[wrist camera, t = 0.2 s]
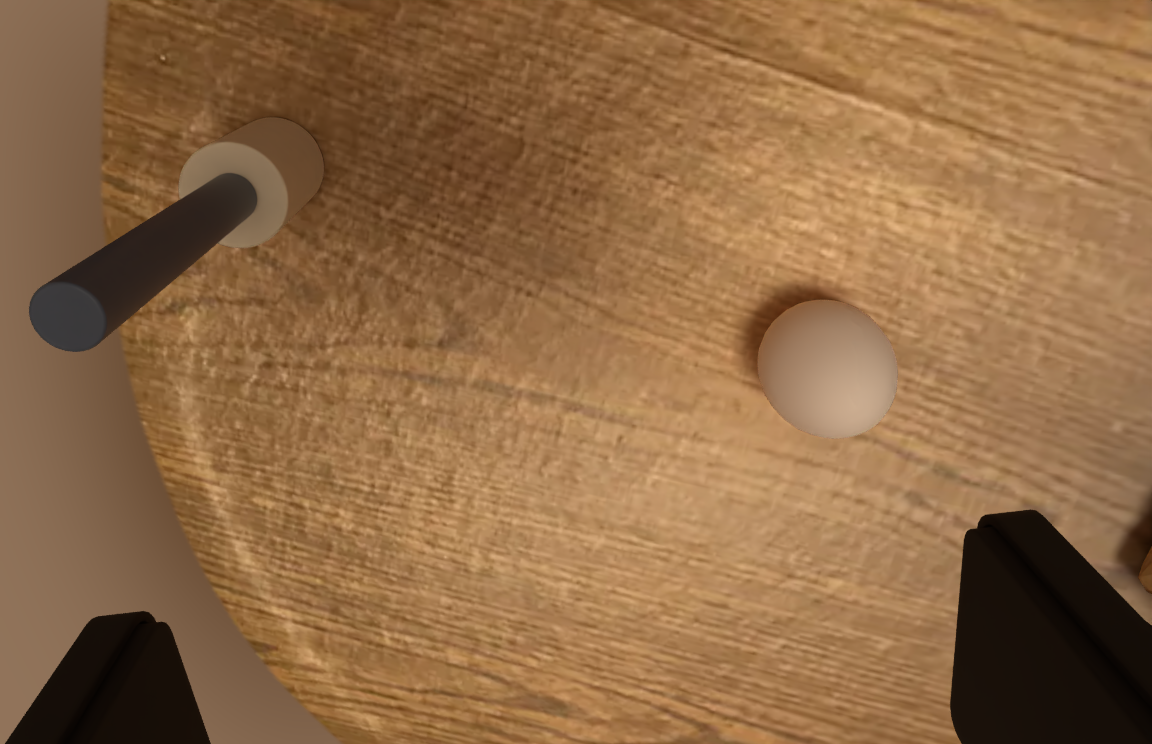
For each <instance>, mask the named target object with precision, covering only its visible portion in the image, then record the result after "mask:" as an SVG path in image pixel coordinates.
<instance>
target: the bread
mask: <svg viewBox="0 0 1152 744" xmlns="http://www.w3.org/2000/svg"><path fill="white" fill-rule="evenodd" d="M1138 578H1139V580H1140V581H1141V583H1142V584H1143V586H1144V588H1145V589H1146V591H1147V592H1149V593H1150V594H1152V547H1151V549H1150V551H1149V553H1148V555H1147V556H1146V558H1145V560H1144V562H1143V564H1142V567H1141V570H1140V573H1139V576H1138Z"/></svg>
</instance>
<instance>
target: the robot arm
mask: <svg viewBox="0 0 1152 744" xmlns="http://www.w3.org/2000/svg"><path fill="white" fill-rule="evenodd" d="M950 710H951V717H952V721H953V725H954V728H955V731H956V734H957V736H958V738H959V740H960V741H961V743H962V744H1152V626H1151V625H1150V624H1149V623H1148V622H1146V621H1145V620H1144V619H1143V618H1142V617H1141V616H1140V615H1139V614H1138V613H1137V612H1136V611H1135V610H1134V609H1133V608H1132V607H1131V606H1130V605H1129V604H1128V603H1127V602H1126V601H1125V600H1124V599H1123V597H1122V596H1121V595H1120V594H1119V593H1118V592H1117V591H1116V590H1115V589H1114V588H1113V587H1112V586H1111V585H1110V584H1109V583H1108V582H1107V581H1106V580H1105V579H1104V578H1103V577H1102V576H1101V575H1100V574H1099V573H1098V572H1097V571H1096V570H1095V569H1094V568H1093V567H1092V566H1091V565H1090V564H1089V563H1088V561H1087V560H1086V559H1085V558H1084V557H1083V556H1082V555H1081V554H1080V553H1079V552H1078V551H1077V550H1076V549H1075V548H1074V547H1073V546H1072V545H1071V544H1070V543H1069V542H1068V541H1067V540H1066V539H1065V538H1064V537H1063V536H1062V535H1061V534H1060V533H1059V532H1058V531H1057V530H1056V529H1055V528H1054V527H1053V526H1052V524H1051V523H1050V522H1049V521H1048V520H1047V519H1046V518H1045V517H1044V516H1043V515H1041V514H1040V513H1039V512H1037V511H1035V510H1023V511H1015V512H1006V513H997V514H988V515H984V516H983V517H981V519H980V521H979V522H978V527H977V529H970V530H968V531H967V532H966V534H965V538H964V546H963V558H962V570H961V581H960V593H959V605H958V617H957V629H956V641H955V653H954V665H953V677H952V689H951V701H950ZM5 744H211V743H210V740H209V737H208V735H207V732H206V729H205V726H204V723H203V720H202V717H201V714H200V712H199V709H198V706H197V703H196V700H195V697H194V694H193V691H192V689H191V685H190V682H189V680H188V677H187V674H186V671H185V668H184V665H183V662H182V659H181V656H180V654H179V651H178V648H177V645H176V642H175V639H174V636H173V633H172V631H171V629H170V627H169V626H168V625H167V624H166V623H165V622H156V621H155V619H154V617H153V616H152V615H151V614H150V613H149V612H145V611H141V612H132V613H123V614H115V615H106V616H98V617H95V618H93V619H91V620H90V621H89V622H88V624H86V626H85V627H84V629H83V630H82V632H81V633H80V635H79V636H78V638H77V639H76V641H75V642H74V644H73V645H72V646H71V648H70V649H69V651H68V652H67V654H66V655H65V657H64V658H63V660H62V661H61V662H60V664H59V666H58V667H57V668H56V670H55V671H54V673H53V674H52V676H51V677H50V679H49V680H48V682H47V683H46V684H45V686H44V687H43V689H42V690H41V692H40V693H39V695H38V696H37V698H36V699H35V701H34V702H33V703H32V705H31V707H30V708H29V709H28V711H27V712H26V714H25V716H24V717H23V718H22V720H21V721H20V723H19V724H18V725H17V727H16V728H15V730H14V731H13V733H12V734H11V736H10V737H9V739H8V740H7V742H6V743H5Z"/></svg>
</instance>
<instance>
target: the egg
mask: <svg viewBox="0 0 1152 744" xmlns="http://www.w3.org/2000/svg"><path fill="white" fill-rule="evenodd" d="M757 365H758V376H759V379H760V382H761V385H762V388H763V391H764V394H765V396H766V397H767V399H768V400H769V402H770V403H771V405H772V406H773V408H774V409H775V410H776V411H777V412H778V413H779V414H780V415H781V416H782V417H783V418H784V419H785V420H786V421H787V422H789V423H790V424H792V425H793V426H794V427H796V428H797V429H799V430H801V431H804V432H806V433H809V434H812V435H815V436H820V437H824V438H832V439H837V438H847V437H852V436H856V435H859V434H861V433H864V432H867V431H868V430H870V429H871V428H873V427H874V426H875V425H877V424H878V423H879V422H880V421H881V419H882V418H883V417H884V416H885V414H886V413H887V411H888V410H889V408H890V407H891V405H892V403H893V400H894V397H895V393H896V390H897V377H898V369H897V360H896V357H895V353H894V350H893V348H892V345H891V343H890V341H889V340H888V338H887V337H886V335H885V334H884V332H883V331H882V330H881V328H880V327H879V326H878V325H877V324H876V323H875V322H874V321H873V319H872V318H871V317H870V316H868V315H867V314H865V313H864V312H862V311H861V310H859V309H858V308H856V307H854V306H851V305H849V304H846V303H843V302H840V301H833V300H812V301H807V302H803V303H799V304H797V305H795V306H793V307H791V308H789V309H787V310H786V311H785V312H783V313H782V314H781V315H780V316H779V317H777V318H776V319H775V320H774V321H773V322H772V324H771V325H770V326H769V328H768V329H767V331H766V332H765V334H764V337H763V340H762V342H761V345H760V347H759V352H758V362H757Z"/></svg>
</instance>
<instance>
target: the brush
mask: <svg viewBox="0 0 1152 744" xmlns="http://www.w3.org/2000/svg"><path fill="white" fill-rule="evenodd" d="M323 175H324V162H323V157H322V154H321V151H320V149H319V147H318V145H317V143H316V141H315V140H314V139H313V137H312V136H311V135H310V134H309V133H308V132H307V131H306V130H305V129H304V128H302V127H301V126H299V125H298V124H296V123H294V122H292V121H289V120H286V119H283V118H277V117H267V118H261V119H258V120H255V121H253V122H251V123H249V124H247V125H245V126H243V127H241V128H239V129H237V130H235V131H233V132H231V133H229V134H227V135H225V136H223V137H221V138H219V139H217V140H215V141H213V142H211V143H209V144H207V145H205V146H203V147H202V148H200V149H198V150H197V151H196V152H195V153H193V154H192V155H191V156H190V157H189V159H188V160H187V161H186V163H185V164H184V166H183V169H182V171H181V174H180V178H179V197H180V200H179V201H177V202H176V203H174V204H172V205H171V206H169V207H168V208H166V209H164V210H163V211H161V212H160V213H158V214H156V215H155V216H153V217H152V218H150V219H148V220H147V221H145V222H144V223H142V224H140V225H139V226H137V227H136V228H134V229H132V230H131V231H129V232H128V233H126V234H124V235H123V236H121V237H120V238H118V239H117V240H115V241H113V242H112V243H110V244H109V245H107V246H105V247H104V248H102V249H101V250H99V251H98V252H96V253H94V254H93V255H91V256H89V257H88V258H86V259H85V260H83V261H82V262H80V263H78V264H77V265H75V266H73V267H72V268H70V269H69V270H67V271H66V272H64V273H62V274H61V275H59V276H58V277H56V278H54V279H53V280H51V281H50V282H48V283H46V284H45V285H43V286H42V287H40V288H39V289H38V290H37V291H36V292H35V293H34V295H33V297H32V299H31V301H30V307H29V315H30V320H31V322H32V325H33V327H34V329H35V330H36V332H37V333H38V334H39V335H40V336H41V338H43V339H44V340H45V341H46V342H47V343H49V344H50V345H52V346H54V347H56V348H59V349H62V350H65V351H73V352H78V351H85V350H89V349H91V348H93V347H95V346H96V345H98V344H99V343H100V342H101V341H102V340H104V339H105V338H106V337H107V336H108V335H109V334H111V333H112V332H113V331H114V330H115V329H117V328H118V327H119V326H120V325H121V324H123V323H124V322H125V321H126V320H127V319H128V318H130V317H131V316H132V315H133V314H134V313H136V312H137V311H138V310H139V309H140V308H141V307H143V306H144V305H145V304H146V303H147V302H149V301H150V300H151V299H152V298H153V297H154V296H156V295H157V294H158V293H159V292H160V291H162V290H163V289H164V288H165V287H166V286H167V285H169V284H170V283H171V282H172V281H173V280H175V279H176V278H177V277H178V276H179V275H180V274H182V273H183V272H184V271H185V270H186V269H188V268H189V267H190V266H191V265H192V264H194V263H195V262H196V261H197V260H198V259H199V258H201V257H202V256H203V255H204V254H205V253H207V252H208V251H209V250H210V249H211V248H212V247H214V246H215V245H216V244H217V243H218V244H221V245H223V246H227V247H232V248H250V247H254V246H258V245H260V244H263V243H265V242H266V241H268V240H270V239H271V238H272V237H274V236H275V235H276V234H277V233H278V232H279V231H280V230H281V229H282V228H283V227H284V226H285V225H286V224H287V223H288V222H289V221H290V220H291V219H292V218H293V217H294V216H295V215H296V214H297V213H298V212H299V210H300V209H301V208H302V207H303V206H304V205H305V204H306V203H307V202H308V201H309V200H310V199H311V198H312V197H313V196H314V195H315V194H316V193H317V191H318V190H319V188H320V186H321V183H322V180H323Z"/></svg>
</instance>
